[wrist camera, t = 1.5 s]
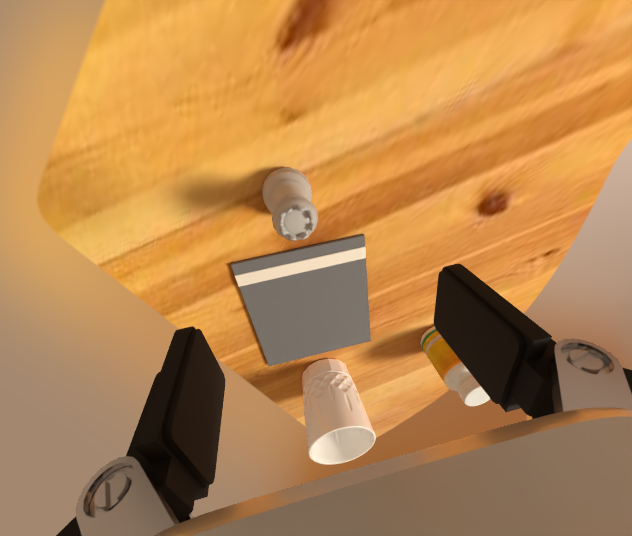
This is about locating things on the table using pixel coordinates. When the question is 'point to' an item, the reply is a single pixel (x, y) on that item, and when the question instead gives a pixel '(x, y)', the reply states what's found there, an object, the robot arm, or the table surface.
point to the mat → (307, 298)
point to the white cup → (334, 414)
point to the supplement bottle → (452, 369)
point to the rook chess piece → (290, 203)
